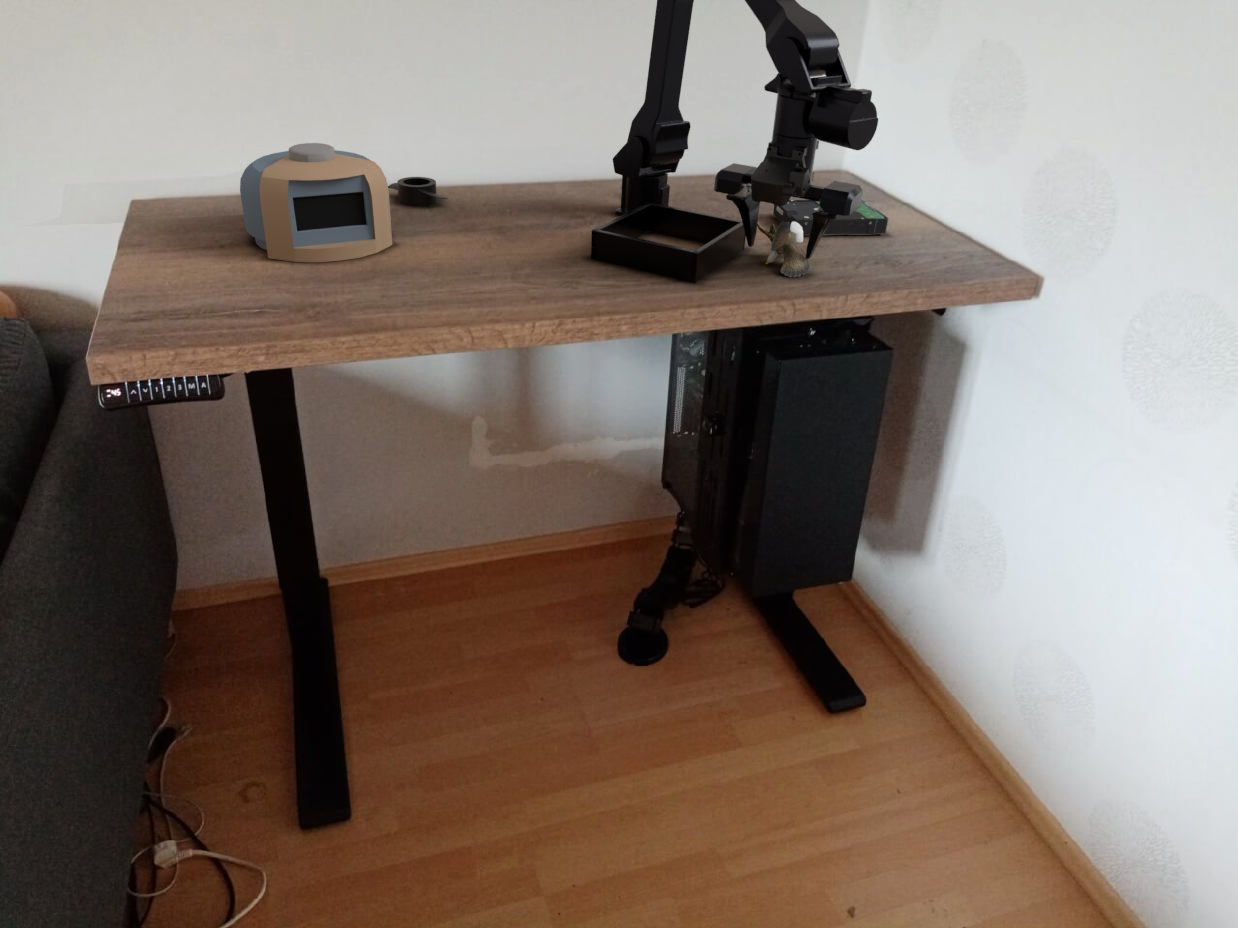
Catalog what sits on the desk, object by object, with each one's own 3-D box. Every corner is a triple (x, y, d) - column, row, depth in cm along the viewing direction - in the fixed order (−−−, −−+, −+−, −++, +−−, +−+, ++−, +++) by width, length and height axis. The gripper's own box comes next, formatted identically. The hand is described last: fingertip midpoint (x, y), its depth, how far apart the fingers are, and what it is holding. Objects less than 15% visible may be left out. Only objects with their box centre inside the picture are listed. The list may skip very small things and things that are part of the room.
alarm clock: (262, 269, 122) (248, 171, 116) (235, 223, 137) (222, 135, 131) (411, 252, 130) (405, 160, 124) (370, 211, 145) (363, 127, 139)
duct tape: (434, 190, 156) (433, 172, 155) (450, 208, 149) (450, 188, 147) (385, 193, 154) (384, 175, 152) (400, 211, 146) (398, 192, 144)
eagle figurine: (739, 247, 136) (758, 256, 127) (769, 202, 134) (790, 209, 126) (780, 276, 138) (802, 288, 130) (810, 233, 137) (834, 242, 128)
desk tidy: (590, 259, 132) (591, 230, 130) (646, 229, 144) (648, 202, 142) (695, 283, 126) (697, 253, 124) (744, 249, 138) (747, 222, 136)
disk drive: (794, 238, 145) (887, 235, 147) (796, 219, 143) (890, 217, 146) (771, 217, 153) (859, 214, 156) (773, 199, 152) (862, 197, 155)
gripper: (702, 133, 122) (691, 254, 130) (847, 157, 115) (826, 283, 123) (736, 119, 131) (725, 233, 139) (873, 140, 123) (852, 259, 131)
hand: (779, 252), depth 133 cm, fingers closed on eagle figurine, 8 cm apart
